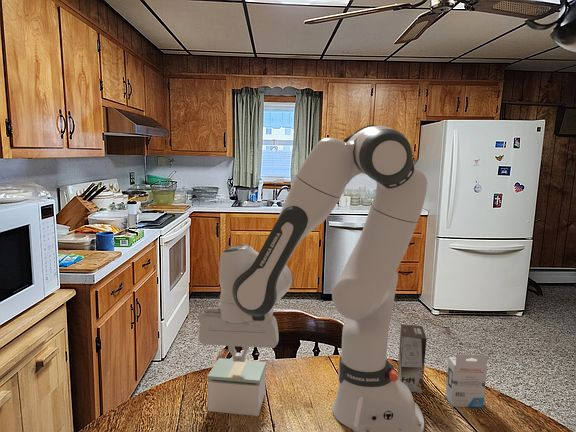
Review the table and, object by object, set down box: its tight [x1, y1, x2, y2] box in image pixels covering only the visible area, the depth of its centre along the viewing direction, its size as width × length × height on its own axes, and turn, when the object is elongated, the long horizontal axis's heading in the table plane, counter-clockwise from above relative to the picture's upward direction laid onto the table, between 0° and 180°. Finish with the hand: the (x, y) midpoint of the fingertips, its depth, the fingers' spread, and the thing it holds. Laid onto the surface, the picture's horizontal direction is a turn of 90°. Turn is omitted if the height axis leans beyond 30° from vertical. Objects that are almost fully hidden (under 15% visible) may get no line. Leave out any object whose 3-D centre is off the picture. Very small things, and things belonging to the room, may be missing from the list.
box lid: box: [206, 357, 267, 384], centre depth 104 cm, size 13×10×1 cm
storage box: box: [207, 366, 267, 417], centre depth 105 cm, size 13×10×8 cm
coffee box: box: [397, 324, 428, 394], centre depth 115 cm, size 9×6×16 cm
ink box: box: [444, 354, 488, 408], centre depth 107 cm, size 8×5×15 cm, turn 89°
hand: (239, 361), depth 102 cm, fingers closed
